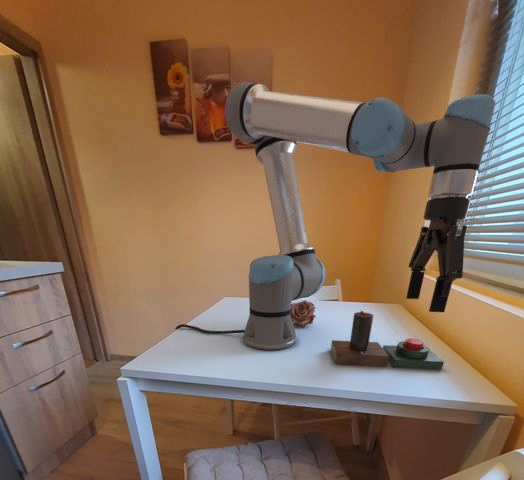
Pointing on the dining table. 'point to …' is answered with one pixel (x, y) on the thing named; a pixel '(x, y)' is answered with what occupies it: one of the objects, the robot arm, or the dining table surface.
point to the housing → (412, 357)
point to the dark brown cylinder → (361, 331)
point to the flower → (302, 313)
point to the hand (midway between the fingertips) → (423, 304)
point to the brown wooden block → (359, 355)
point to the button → (413, 344)
